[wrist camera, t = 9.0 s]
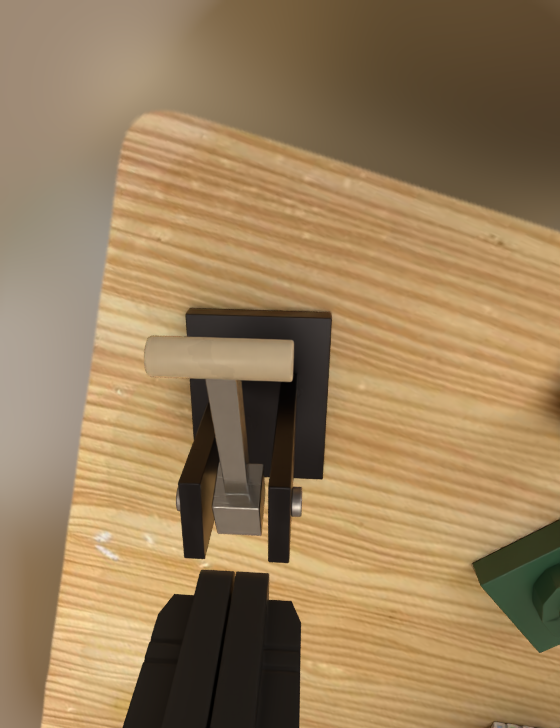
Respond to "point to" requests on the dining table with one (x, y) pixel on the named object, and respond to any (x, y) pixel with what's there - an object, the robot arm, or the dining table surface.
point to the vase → (507, 725)
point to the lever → (227, 411)
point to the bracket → (261, 423)
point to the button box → (527, 584)
